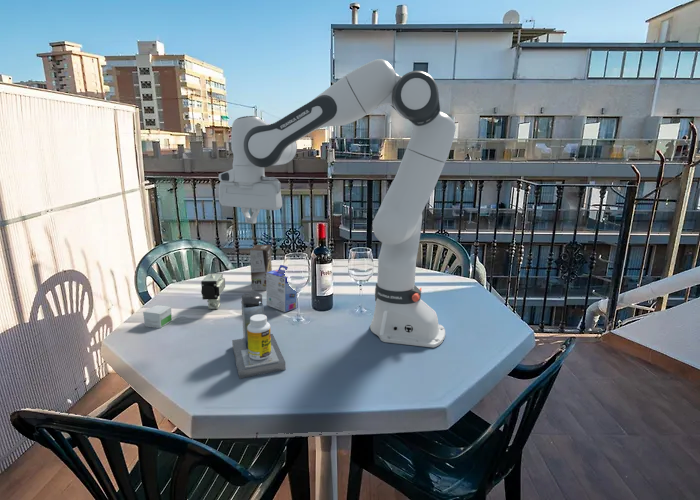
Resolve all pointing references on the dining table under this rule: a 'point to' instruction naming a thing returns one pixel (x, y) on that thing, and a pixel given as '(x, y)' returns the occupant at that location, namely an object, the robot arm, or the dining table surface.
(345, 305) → the dining table surface
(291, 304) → the ink cartridge box
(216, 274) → the pneumatic valve
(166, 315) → the small box
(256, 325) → the supplement bottle
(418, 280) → the dining table surface
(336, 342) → the dining table surface
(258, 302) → the ram
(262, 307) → the press
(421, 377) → the dining table surface
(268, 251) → the coffee box
